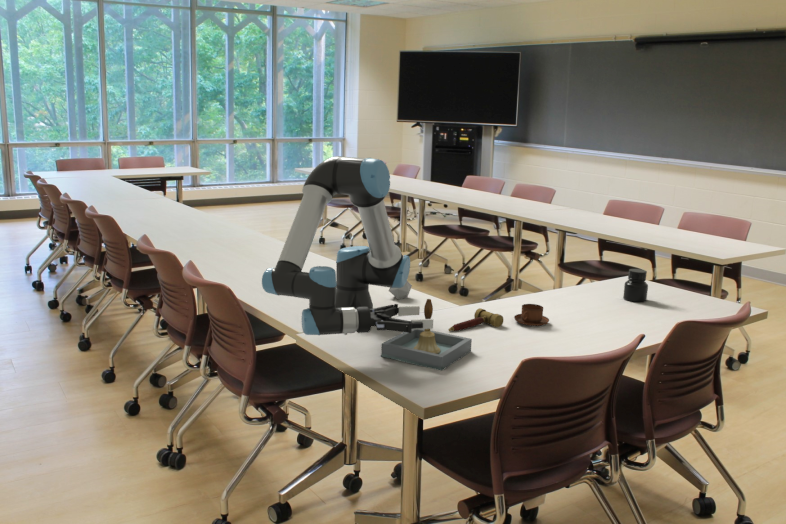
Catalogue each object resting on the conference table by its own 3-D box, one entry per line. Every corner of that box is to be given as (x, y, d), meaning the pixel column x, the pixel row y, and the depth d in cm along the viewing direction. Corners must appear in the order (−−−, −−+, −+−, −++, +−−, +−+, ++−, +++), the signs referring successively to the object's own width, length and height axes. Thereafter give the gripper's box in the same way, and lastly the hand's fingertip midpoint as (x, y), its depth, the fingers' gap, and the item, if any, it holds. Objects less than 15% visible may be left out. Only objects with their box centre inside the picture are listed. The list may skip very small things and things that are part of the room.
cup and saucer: (546, 330, 240) (547, 313, 239) (511, 326, 244) (512, 308, 243) (550, 321, 251) (552, 304, 250) (517, 316, 255) (518, 300, 254)
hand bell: (408, 347, 215) (410, 297, 211) (432, 345, 218) (435, 295, 215) (420, 356, 207) (422, 304, 204) (445, 353, 210) (447, 302, 207)
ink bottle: (637, 296, 289) (641, 267, 287) (651, 302, 281) (655, 272, 279) (617, 297, 286) (620, 268, 284) (631, 303, 278) (634, 273, 275)
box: (413, 338, 226) (414, 326, 225) (470, 351, 216) (471, 338, 216) (381, 356, 209) (381, 343, 209) (441, 370, 200) (442, 357, 199)
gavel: (459, 327, 230) (438, 319, 238) (459, 340, 231) (438, 332, 239) (503, 313, 243) (483, 306, 250) (503, 326, 244) (483, 319, 251)
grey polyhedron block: (413, 302, 272) (417, 279, 276) (397, 293, 267) (402, 270, 271) (398, 305, 278) (402, 282, 282) (383, 297, 273) (387, 274, 277)
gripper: (347, 319, 217) (413, 316, 223) (364, 346, 194) (438, 342, 199) (347, 296, 216) (414, 293, 221) (365, 320, 192) (439, 316, 197)
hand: (425, 316), depth 210 cm, fingers open, 13 cm apart
